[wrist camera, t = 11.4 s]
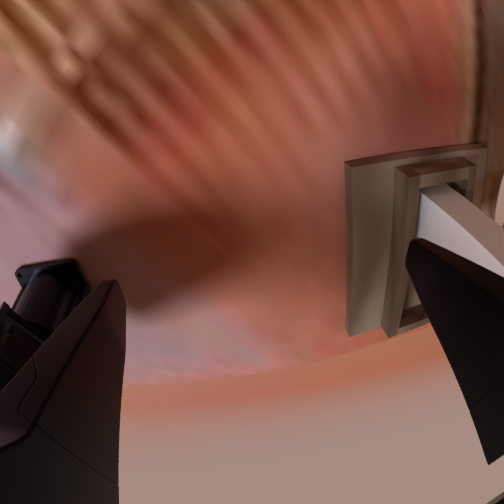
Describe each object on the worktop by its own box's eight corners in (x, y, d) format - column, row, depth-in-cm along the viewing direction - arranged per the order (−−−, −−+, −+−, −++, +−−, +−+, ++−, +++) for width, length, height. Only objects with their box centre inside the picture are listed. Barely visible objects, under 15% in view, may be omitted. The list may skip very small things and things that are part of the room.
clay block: (409, 240, 25) (508, 365, 14) (414, 187, 22) (542, 309, 11) (436, 232, 25) (535, 346, 14) (442, 181, 22) (567, 291, 11)
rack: (345, 328, 32) (356, 351, 29) (344, 161, 22) (364, 178, 19) (451, 291, 32) (465, 309, 30) (479, 143, 22) (503, 156, 19)
